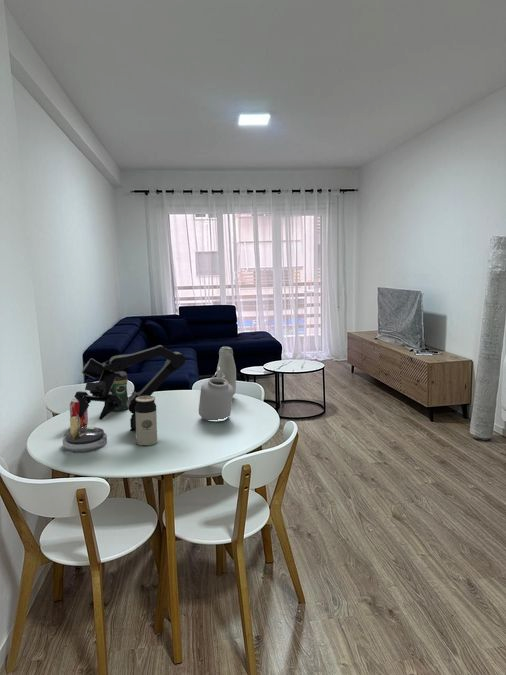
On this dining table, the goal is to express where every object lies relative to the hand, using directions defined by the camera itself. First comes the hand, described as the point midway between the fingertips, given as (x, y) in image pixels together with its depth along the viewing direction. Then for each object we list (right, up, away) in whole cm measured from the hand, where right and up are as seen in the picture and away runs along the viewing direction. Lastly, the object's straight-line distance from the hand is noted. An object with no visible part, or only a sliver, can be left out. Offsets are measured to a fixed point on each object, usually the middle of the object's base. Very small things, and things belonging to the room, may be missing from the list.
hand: (89, 418), depth 169 cm
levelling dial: (-2, -7, 0) cm, 8 cm away
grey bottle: (+49, -2, +66) cm, 83 cm away
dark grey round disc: (-2, -10, +1) cm, 10 cm away
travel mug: (+21, -10, +3) cm, 24 cm away
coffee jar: (-3, -4, +46) cm, 46 cm away
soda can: (-12, -8, +21) cm, 25 cm away
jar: (+47, -7, +31) cm, 56 cm away
